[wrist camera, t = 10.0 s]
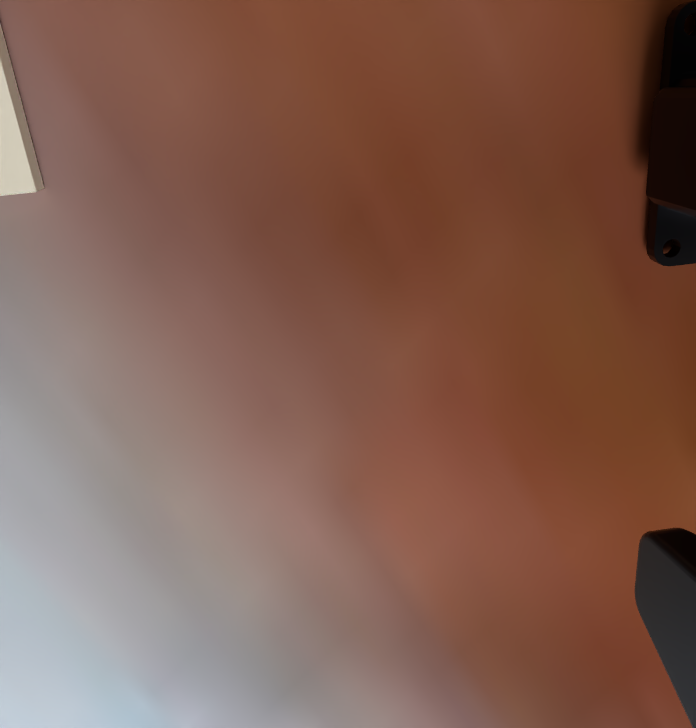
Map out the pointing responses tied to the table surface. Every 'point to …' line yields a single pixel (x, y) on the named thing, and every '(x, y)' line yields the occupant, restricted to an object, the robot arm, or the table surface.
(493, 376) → the table surface
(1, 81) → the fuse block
